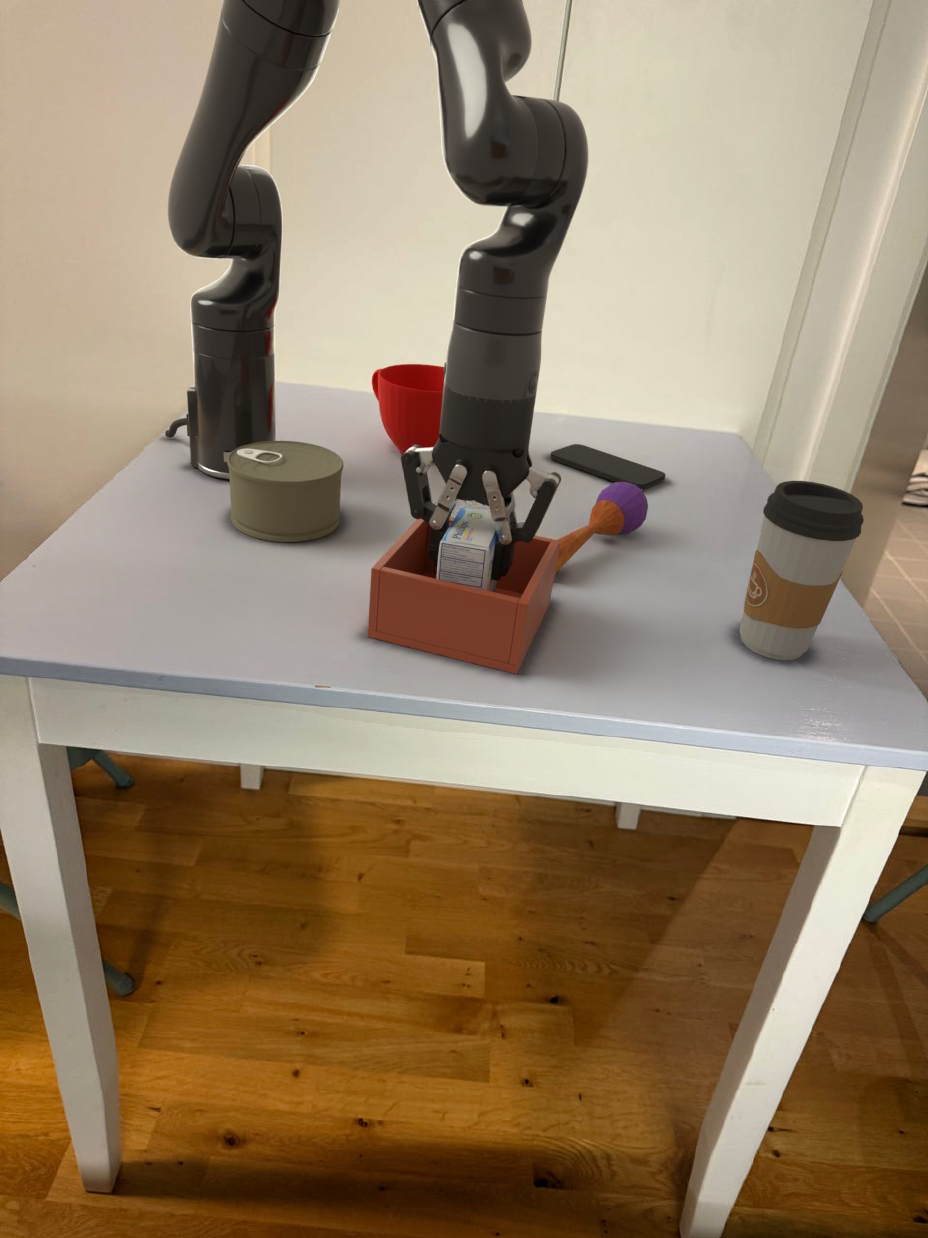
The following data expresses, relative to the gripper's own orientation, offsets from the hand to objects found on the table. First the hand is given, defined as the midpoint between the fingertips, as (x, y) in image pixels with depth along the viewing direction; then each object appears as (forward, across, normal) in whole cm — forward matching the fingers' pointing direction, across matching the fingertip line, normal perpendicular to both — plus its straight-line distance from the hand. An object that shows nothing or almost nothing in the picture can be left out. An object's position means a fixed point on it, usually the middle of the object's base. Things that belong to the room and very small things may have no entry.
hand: (468, 569), depth 80 cm
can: (+5, +24, -12) cm, 27 cm away
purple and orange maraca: (+5, -8, -21) cm, 23 cm away
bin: (+5, 0, 0) cm, 5 cm away
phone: (+5, -6, -48) cm, 49 cm away
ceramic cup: (+5, +20, -42) cm, 47 cm away
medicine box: (+5, 0, 0) cm, 5 cm away
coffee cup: (+5, -28, -9) cm, 30 cm away
